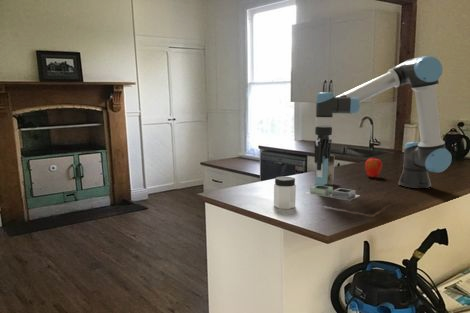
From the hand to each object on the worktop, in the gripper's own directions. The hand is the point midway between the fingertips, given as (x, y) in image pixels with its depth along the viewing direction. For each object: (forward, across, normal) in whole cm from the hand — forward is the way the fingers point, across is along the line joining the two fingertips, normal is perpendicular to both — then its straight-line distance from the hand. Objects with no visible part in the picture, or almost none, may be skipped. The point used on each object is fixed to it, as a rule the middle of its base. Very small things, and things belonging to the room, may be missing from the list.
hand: (321, 176), depth 180 cm
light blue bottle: (+4, 0, 0) cm, 4 cm away
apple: (+9, -57, +5) cm, 58 cm away
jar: (+9, +29, -2) cm, 30 cm away
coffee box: (+9, -21, -8) cm, 24 cm away
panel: (+9, 0, +6) cm, 10 cm away
